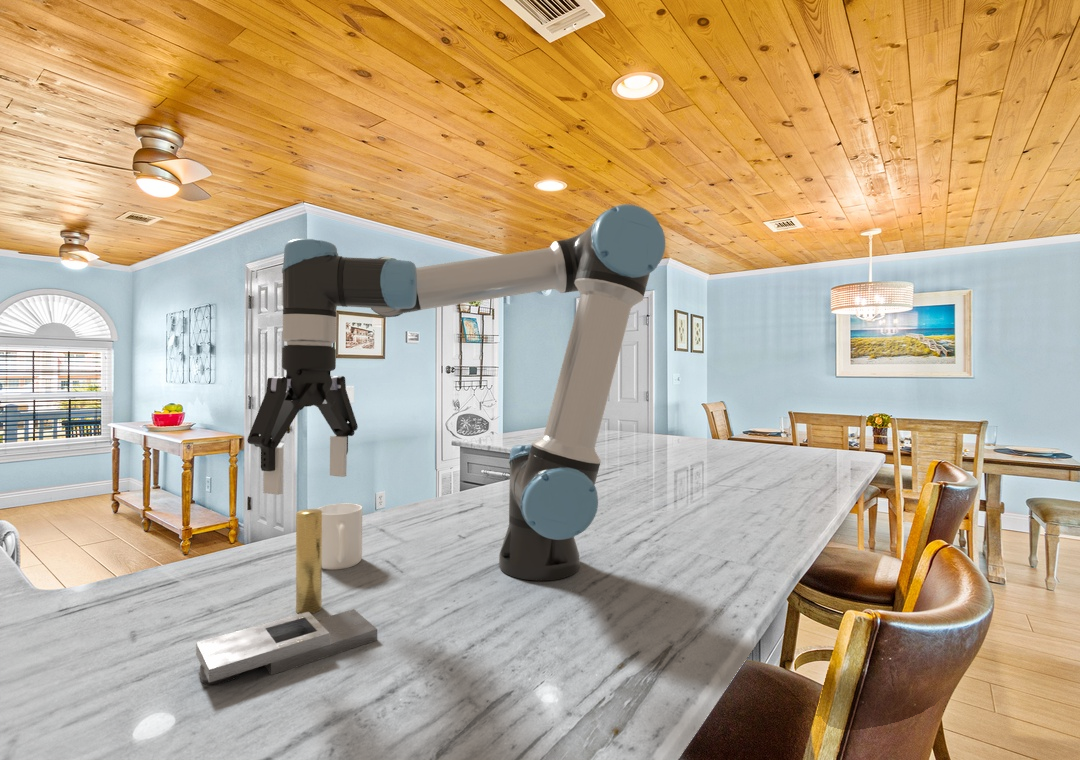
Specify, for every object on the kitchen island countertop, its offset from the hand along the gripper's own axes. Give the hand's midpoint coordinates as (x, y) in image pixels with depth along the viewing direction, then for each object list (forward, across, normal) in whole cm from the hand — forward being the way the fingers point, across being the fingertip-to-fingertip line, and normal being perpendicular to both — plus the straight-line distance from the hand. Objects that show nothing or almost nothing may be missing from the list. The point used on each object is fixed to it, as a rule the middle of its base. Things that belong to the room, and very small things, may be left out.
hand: (307, 484), depth 84 cm
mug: (+20, -17, -8) cm, 27 cm away
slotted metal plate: (+19, +11, +7) cm, 23 cm away
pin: (+19, 0, 0) cm, 19 cm away
